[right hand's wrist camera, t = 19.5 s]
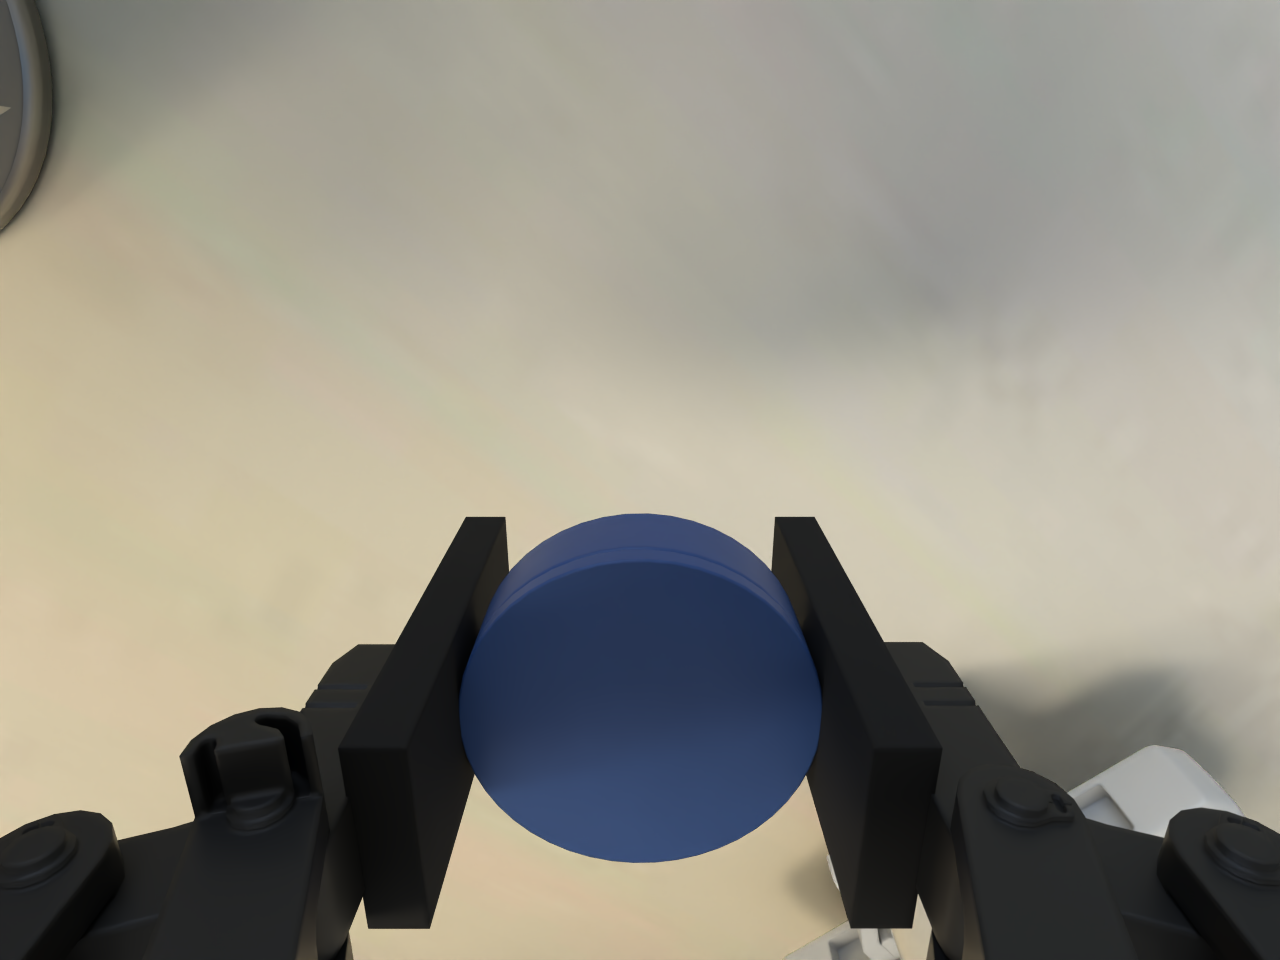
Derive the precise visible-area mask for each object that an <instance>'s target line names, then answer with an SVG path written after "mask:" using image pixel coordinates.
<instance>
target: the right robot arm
mask: <svg viewBox="0 0 1280 960" xmlns="http://www.w3.org/2000/svg"><path fill="white" fill-rule="evenodd" d="M51 119H52V81H51V68H50V62H49V56H48V50H47V44H46V40H45V36H44V32H43V28H42V24H41V20H40V16H39V13H38V10H37V8H36V5H35V2H34V0H0V230H1V229H2V228H3V227H5V226H6V225H7V224H8V223H9V222H10V220H11V219H12V218H13V217H14V216H15V214H16V213H17V212H18V211H19V210H20V208H21V207H22V205H23V204H24V202H25V201H26V199H27V197H28V196H29V194H30V193H31V191H32V189H33V186H34V184H35V182H36V180H37V178H38V176H39V173H40V170H41V167H42V164H43V161H44V158H45V155H46V150H47V146H48V141H49V137H50V128H51ZM771 572H772V573H773V574H774V575H775V577H776V578H777V579H778V580H779V582H780V584H781V585H782V587H783V589H784V590H785V592H786V594H787V595H788V597H789V600H790V602H791V604H792V607H793V609H794V611H795V614H796V616H797V619H798V622H799V624H800V627H801V630H802V632H803V635H804V638H805V640H806V643H807V646H808V648H809V651H810V654H811V657H812V659H813V662H814V664H815V667H816V669H817V673H818V677H819V681H820V685H821V690H822V714H821V724H820V734H819V743H818V748H817V751H816V753H815V756H814V758H813V761H812V763H811V766H810V768H809V770H808V772H807V774H806V776H807V780H808V783H809V786H810V790H811V793H812V797H813V800H814V804H815V807H816V811H817V814H818V817H819V821H820V824H821V828H822V831H823V835H824V838H825V842H826V845H827V849H828V852H829V855H830V859H831V862H832V866H833V869H834V873H835V876H836V880H837V883H838V886H839V890H840V893H841V897H842V900H843V904H844V907H845V911H846V914H847V918H848V921H849V924H850V928H851V929H912V927H913V921H914V915H915V909H916V903H917V897H918V895H919V897H920V900H921V902H922V905H923V907H924V910H925V912H926V915H927V917H928V920H929V922H930V925H931V927H932V930H931V935H930V941H929V946H928V952H927V957H926V960H1280V834H1279V833H1277V832H1275V831H1273V830H1271V829H1270V828H1268V827H1266V826H1264V825H1262V824H1260V823H1259V822H1257V821H1254V820H1251V819H1248V818H1246V817H1243V816H1240V815H1237V814H1234V813H1231V812H1228V811H1223V810H1216V809H1209V808H1202V807H1200V808H1193V809H1187V810H1181V811H1180V812H1178V813H1177V814H1176V815H1175V816H1174V817H1172V818H1171V819H1170V820H1169V824H1168V827H1167V830H1166V833H1165V837H1159V836H1155V835H1151V834H1146V833H1142V832H1138V831H1133V830H1129V829H1125V828H1121V827H1116V826H1112V825H1108V824H1104V823H1101V822H1098V821H1094V820H1091V819H1088V818H1085V815H1084V814H1083V812H1082V811H1081V809H1080V808H1079V806H1078V804H1077V803H1076V801H1075V800H1074V799H1073V798H1072V797H1071V796H1070V795H1069V794H1068V793H1066V792H1065V791H1064V790H1063V789H1062V788H1060V787H1059V786H1058V785H1057V784H1056V783H1054V782H1052V781H1050V780H1048V779H1046V778H1044V777H1042V776H1040V775H1038V774H1036V773H1035V772H1032V771H1029V770H1025V769H1022V768H1020V767H1019V765H1018V764H1017V762H1016V761H1015V759H1014V758H1013V756H1012V755H1011V753H1010V752H1009V750H1008V749H1007V747H1006V746H1005V744H1004V743H1003V741H1002V740H1001V738H1000V737H999V735H998V734H997V733H996V731H995V730H994V728H993V727H992V725H991V724H990V722H989V721H988V719H987V718H986V716H985V715H984V713H983V712H982V710H981V709H980V707H979V706H976V704H975V700H974V698H973V697H972V695H971V694H970V692H969V691H968V689H967V688H966V687H963V682H962V681H961V679H960V678H959V676H958V675H957V673H956V672H955V670H954V669H953V667H952V666H951V664H950V663H949V661H948V660H946V659H945V658H944V657H942V656H941V655H939V654H938V653H937V652H935V651H934V650H933V649H931V648H930V647H928V646H927V645H926V644H924V643H923V642H884V641H883V640H882V638H881V636H880V634H879V632H878V631H877V629H876V627H875V625H874V623H873V622H872V620H871V618H870V616H869V614H868V613H867V611H866V609H865V607H864V605H863V604H862V602H861V600H860V598H859V596H858V595H857V593H856V591H855V589H854V587H853V586H852V584H851V582H850V580H849V578H848V576H847V575H846V573H845V571H844V569H843V567H842V566H841V564H840V562H839V560H838V558H837V557H836V555H835V553H834V551H833V549H832V548H831V546H830V544H829V542H828V540H827V539H826V537H825V535H824V533H823V531H822V530H821V528H820V526H819V524H818V522H817V521H816V519H815V517H775V526H774V541H773V556H772V571H771ZM508 573H509V564H508V549H507V534H506V519H505V517H466V518H465V520H464V521H463V523H462V525H461V527H460V529H459V530H458V532H457V534H456V536H455V538H454V540H453V541H452V543H451V545H450V547H449V549H448V550H447V552H446V554H445V556H444V558H443V559H442V561H441V563H440V565H439V567H438V568H437V570H436V572H435V574H434V576H433V577H432V579H431V581H430V583H429V585H428V586H427V588H426V590H425V592H424V594H423V595H422V597H421V599H420V601H419V603H418V604H417V606H416V608H415V610H414V612H413V613H412V615H411V617H410V619H409V621H408V622H407V624H406V626H405V628H404V630H403V631H402V633H401V635H400V637H399V639H398V640H397V642H396V644H358V645H357V646H356V647H354V648H353V649H351V650H350V651H349V652H347V653H346V654H345V655H343V656H342V657H340V658H339V659H338V660H336V661H335V662H334V663H332V665H331V666H330V668H329V669H328V671H327V672H326V674H325V675H324V677H323V678H322V680H321V681H320V683H319V684H318V689H317V690H314V692H313V693H312V695H311V696H310V698H309V699H308V701H307V702H306V707H305V708H302V710H301V711H300V712H298V711H294V710H290V709H286V708H282V707H280V708H259V709H255V710H251V711H247V712H243V713H239V714H235V715H232V716H230V717H228V718H226V719H224V720H222V721H219V722H217V723H215V724H213V725H211V726H209V727H208V728H207V729H205V730H204V731H203V732H201V733H200V734H199V735H197V736H196V737H195V738H193V739H192V740H191V741H190V742H189V744H188V745H187V747H186V748H185V749H184V751H183V752H182V753H181V755H180V756H179V757H180V760H181V764H182V768H183V772H184V776H185V780H186V784H187V787H188V791H189V795H190V799H191V803H192V807H193V811H194V815H195V819H194V821H193V822H190V823H186V824H183V825H180V826H176V827H173V828H169V829H164V830H160V831H156V832H152V833H147V834H143V835H139V836H134V837H130V838H126V839H122V840H117V838H116V835H115V831H114V828H113V825H112V823H111V822H110V821H109V820H108V819H107V818H105V817H104V816H103V815H102V814H101V813H95V812H88V811H81V810H79V811H73V812H66V813H59V814H53V815H51V816H48V817H45V818H42V819H39V820H36V821H34V822H31V823H28V824H25V825H23V826H21V827H20V828H18V829H16V830H14V831H12V832H11V833H9V834H7V835H5V836H3V837H2V838H0V960H353V954H352V947H351V941H350V935H349V930H350V927H351V925H352V922H353V920H354V917H355V915H356V912H357V910H358V907H359V905H360V902H361V900H362V897H363V900H364V906H365V912H366V918H367V924H368V929H430V926H431V923H432V919H433V916H434V912H435V909H436V905H437V902H438V898H439V895H440V892H441V888H442V885H443V881H444V878H445V874H446V871H447V867H448V864H449V860H450V857H451V854H452V850H453V847H454V843H455V840H456V836H457V833H458V829H459V826H460V822H461V819H462V816H463V812H464V809H465V805H466V802H467V798H468V795H469V791H470V788H471V785H472V781H473V778H474V771H473V769H472V767H471V765H470V763H469V760H468V758H467V756H466V753H465V749H464V746H463V742H462V737H461V728H460V718H459V692H460V687H461V682H462V677H463V674H464V671H465V668H466V666H467V663H468V660H469V657H470V655H471V652H472V649H473V647H474V644H475V641H476V639H477V636H478V633H479V631H480V628H481V625H482V623H483V620H484V618H485V615H486V612H487V610H488V607H489V604H490V602H491V600H492V598H493V596H494V594H495V592H496V591H497V589H498V587H499V585H500V584H501V582H502V581H503V580H504V578H505V577H506V576H507V574H508Z"/></svg>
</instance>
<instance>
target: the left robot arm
mask: <svg viewBox="0 0 1280 960" xmlns="http://www.w3.org/2000/svg"><path fill="white" fill-rule="evenodd" d="M1067 793H1068V794H1069V795H1070V796H1071V797H1072V798H1073V799H1074V800H1075V801H1076V803H1077V804H1078V806H1079V808H1080V809H1081V811H1082V812H1083V814H1084V815H1085V818H1088V819H1091V820H1094V821H1098V822H1101V823H1104V824H1108V825H1112V826H1116V827H1121V828H1125V829H1129V830H1133V831H1138V832H1142V833H1146V834H1151V835H1155V836H1159V837H1165V833H1166V830H1167V827H1168V824H1169V820H1170V819H1171V818H1172V817H1174V816H1175V815H1176V814H1177V813H1178V812H1180V811H1181V810H1187V809H1193V808H1200V807H1202V808H1209V809H1216V810H1223V811H1228V812H1231V813H1234V814H1237V815H1240V816H1243V817H1246V816H1245V815H1244V813H1243V812H1242V810H1241V809H1240V808H1239V806H1238V805H1237V804H1236V803H1235V801H1234V800H1233V799H1232V798H1231V797H1230V796H1229V795H1228V794H1227V793H1226V791H1225V790H1224V789H1223V788H1222V787H1221V786H1220V785H1219V784H1218V783H1217V782H1216V781H1215V780H1214V779H1213V778H1212V777H1211V776H1210V775H1209V773H1208V772H1206V771H1205V770H1204V769H1203V768H1202V767H1201V766H1200V765H1199V764H1198V763H1197V762H1196V761H1195V760H1194V759H1193V758H1192V757H1191V756H1190V755H1188V754H1187V753H1186V752H1184V751H1183V750H1180V749H1176V748H1171V747H1165V746H1160V745H1150V746H1147V747H1145V748H1143V749H1141V750H1139V751H1137V752H1136V753H1134V754H1132V755H1131V756H1129V757H1127V758H1126V759H1124V760H1122V761H1120V762H1119V763H1117V764H1115V765H1114V766H1112V767H1110V768H1108V769H1107V770H1105V771H1103V772H1102V773H1100V774H1098V775H1096V776H1095V777H1093V778H1091V779H1090V780H1088V781H1086V782H1084V783H1083V784H1081V785H1079V786H1078V787H1076V788H1074V789H1072V790H1071V791H1069V792H1067ZM827 862H828V865H829V868H830V872H831V875H832V879H833V881H834V883H835V885H836V887H837V888H838V890H839V886H838V883H837V880H836V876H835V873H834V869H833V866H832V862H831V859H830V855H829V854H828V855H827ZM839 891H840V890H839ZM782 960H901V959H900V956H899V953H898V951H897V948H896V945H895V942H894V939H893V936H892V933H891V931H890V929H851V928H850V924H849V921H846V922H844V923H842V924H841V925H839V926H837V927H836V928H834V929H832V930H830V931H829V932H827V933H825V934H824V935H822V936H820V937H818V938H817V939H815V940H813V941H812V942H810V943H808V944H806V945H805V946H803V947H801V948H799V949H798V950H796V951H794V952H792V953H790V954H789V955H787V956H786V957H784V958H783V959H782Z"/></svg>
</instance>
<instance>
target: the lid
mask: <svg viewBox="0 0 1280 960" xmlns="http://www.w3.org/2000/svg"><path fill="white" fill-rule="evenodd" d="M821 714H822V690H821V685H820V681H819V677H818V673H817V669H816V667H815V664H814V662H813V659H812V657H811V654H810V651H809V648H808V646H807V643H806V640H805V638H804V635H803V632H802V630H801V627H800V624H799V622H798V619H797V616H796V614H795V611H794V609H793V607H792V604H791V602H790V600H789V597H788V595H787V594H786V592H785V590H784V589H783V587H782V585H781V584H780V582H779V580H778V579H777V578H776V577H775V575H774V574H773V573H772V572H771V570H770V569H769V568H768V567H767V566H766V564H765V563H763V562H762V561H761V560H760V559H759V558H758V557H757V556H756V555H755V554H754V553H753V552H751V551H750V550H749V549H748V548H746V547H745V546H743V545H742V544H740V543H739V542H737V541H736V540H734V539H733V538H731V537H729V536H727V535H725V534H723V533H721V532H720V531H718V530H716V529H714V528H711V527H708V526H706V525H703V524H700V523H697V522H694V521H691V520H687V519H682V518H678V517H674V516H667V515H657V514H622V515H615V516H608V517H602V518H598V519H595V520H591V521H587V522H583V523H580V524H578V525H576V526H573V527H571V528H568V529H566V530H563V531H561V532H559V533H557V534H556V535H554V536H552V537H550V538H549V539H547V540H545V541H543V542H542V543H541V544H539V545H538V546H537V547H535V548H534V549H533V550H531V551H530V552H529V553H527V554H526V555H525V556H524V557H523V558H522V559H521V560H520V561H519V562H518V563H517V564H516V565H515V566H514V567H513V568H512V569H511V570H510V572H509V573H508V574H507V576H506V577H505V578H504V580H503V581H502V582H501V584H500V585H499V587H498V589H497V591H496V592H495V594H494V596H493V598H492V600H491V602H490V604H489V607H488V610H487V612H486V615H485V618H484V620H483V623H482V625H481V628H480V631H479V633H478V636H477V639H476V641H475V644H474V647H473V649H472V652H471V655H470V657H469V660H468V663H467V666H466V668H465V671H464V674H463V677H462V682H461V687H460V692H459V718H460V728H461V737H462V742H463V746H464V749H465V753H466V756H467V758H468V760H469V763H470V765H471V767H472V769H473V771H474V774H475V775H476V777H477V778H478V780H479V781H480V783H481V785H482V786H483V788H484V789H485V791H486V792H487V793H488V794H489V796H490V797H491V798H492V799H493V800H494V801H495V803H496V804H497V805H498V806H499V807H500V808H501V809H502V810H503V811H504V812H505V813H507V814H508V815H509V816H510V817H511V818H512V819H513V820H514V821H516V822H517V823H519V824H520V825H521V826H523V827H524V828H526V829H527V830H528V831H530V832H531V833H533V834H535V835H537V836H538V837H540V838H542V839H544V840H546V841H548V842H549V843H552V844H554V845H557V846H559V847H561V848H564V849H566V850H569V851H572V852H575V853H579V854H582V855H585V856H589V857H593V858H599V859H604V860H609V861H618V862H630V863H650V862H663V861H672V860H679V859H683V858H688V857H692V856H697V855H700V854H703V853H706V852H709V851H712V850H715V849H718V848H721V847H723V846H725V845H727V844H729V843H731V842H734V841H736V840H738V839H740V838H741V837H743V836H745V835H746V834H748V833H750V832H751V831H753V830H755V829H756V828H758V827H759V826H760V825H762V824H763V823H764V822H765V821H767V820H768V819H769V818H771V817H772V816H773V815H774V814H775V813H776V812H777V811H778V810H779V809H780V808H781V807H782V806H783V805H784V804H785V803H786V802H787V801H788V800H789V799H790V797H791V796H792V795H793V793H794V792H795V791H796V790H797V788H798V787H799V786H800V784H801V782H802V781H803V779H804V777H805V775H806V774H807V772H808V770H809V768H810V766H811V763H812V761H813V758H814V756H815V753H816V751H817V748H818V743H819V734H820V724H821Z"/></svg>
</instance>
